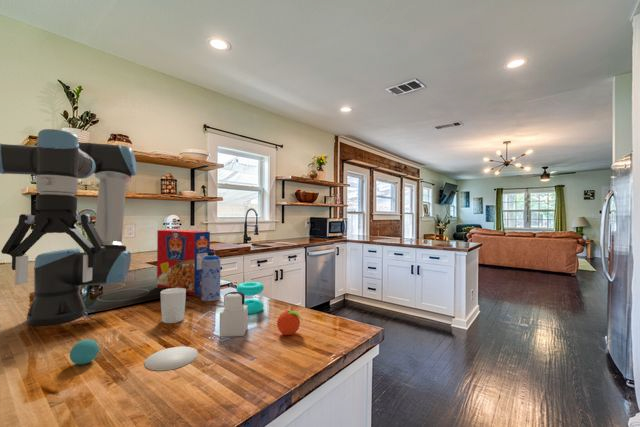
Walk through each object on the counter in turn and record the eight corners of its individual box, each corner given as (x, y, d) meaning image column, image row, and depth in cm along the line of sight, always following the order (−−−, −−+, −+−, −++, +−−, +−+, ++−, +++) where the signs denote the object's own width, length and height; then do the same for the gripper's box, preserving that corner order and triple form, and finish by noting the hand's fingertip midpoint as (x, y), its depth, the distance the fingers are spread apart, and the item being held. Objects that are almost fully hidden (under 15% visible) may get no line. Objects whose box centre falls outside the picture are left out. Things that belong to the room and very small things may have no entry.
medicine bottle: (225, 327, 94) (225, 290, 94) (247, 327, 95) (248, 289, 95) (219, 337, 87) (219, 296, 87) (243, 336, 88) (244, 296, 88)
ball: (63, 369, 68) (63, 346, 68) (79, 358, 74) (79, 336, 74) (89, 368, 69) (90, 344, 69) (103, 356, 75) (103, 335, 75)
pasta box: (157, 287, 145) (157, 230, 145) (172, 284, 151) (172, 229, 151) (194, 295, 131) (194, 232, 131) (209, 291, 137) (209, 231, 137)
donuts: (268, 282, 114) (253, 288, 105) (268, 308, 114) (253, 316, 105) (247, 280, 118) (230, 285, 108) (247, 305, 118) (230, 312, 108)
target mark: (135, 372, 68) (135, 371, 68) (156, 348, 79) (156, 347, 79) (190, 368, 69) (190, 368, 69) (203, 346, 81) (203, 345, 81)
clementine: (306, 332, 91) (306, 309, 91) (297, 341, 85) (297, 316, 85) (283, 328, 94) (283, 306, 94) (272, 337, 87) (273, 313, 87)
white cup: (175, 325, 96) (175, 294, 96) (154, 323, 98) (154, 293, 98) (190, 316, 104) (191, 288, 104) (171, 315, 105) (171, 287, 105)
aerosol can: (213, 294, 132) (213, 250, 132) (224, 297, 127) (224, 251, 127) (197, 298, 126) (197, 251, 126) (208, 302, 121) (208, 253, 121)
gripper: (-20, 192, 66) (-23, 288, 65) (107, 194, 71) (106, 283, 70) (8, 195, 73) (5, 281, 72) (121, 196, 78) (120, 277, 78)
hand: (55, 282), depth 71 cm, fingers open, 13 cm apart
